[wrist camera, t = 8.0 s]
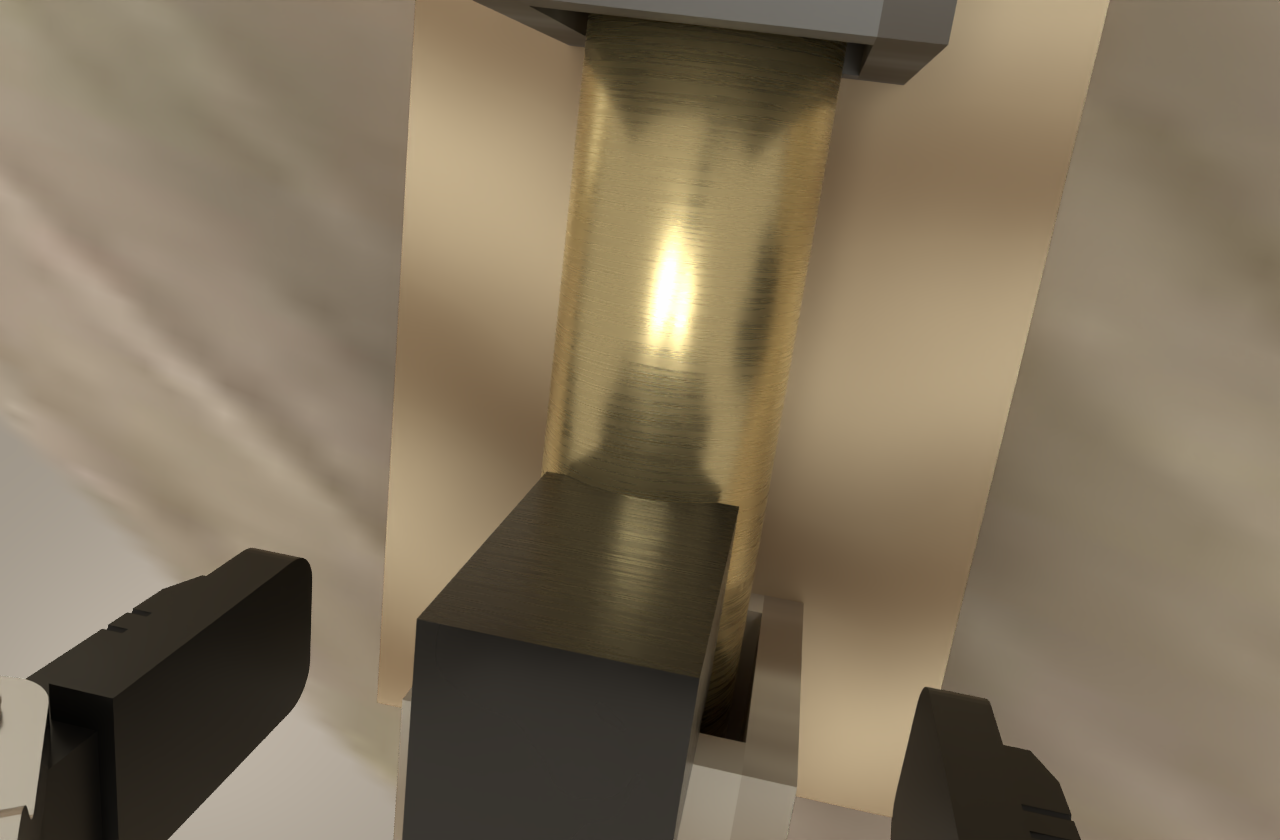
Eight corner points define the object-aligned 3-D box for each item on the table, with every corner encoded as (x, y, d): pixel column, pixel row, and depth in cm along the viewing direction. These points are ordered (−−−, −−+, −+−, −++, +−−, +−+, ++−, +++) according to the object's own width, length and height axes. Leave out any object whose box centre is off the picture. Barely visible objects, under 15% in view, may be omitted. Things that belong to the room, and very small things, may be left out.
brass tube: (645, -223, 15) (449, -660, 7) (889, -205, 14) (976, -653, 7) (542, 710, 20) (355, 1080, 12) (722, 750, 19) (654, 1165, 11)
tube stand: (490, -886, 15) (224, -1730, 8) (1312, -903, 13) (1811, -1976, 7) (395, 680, 23) (221, 893, 16) (904, 791, 21) (943, 1081, 14)
